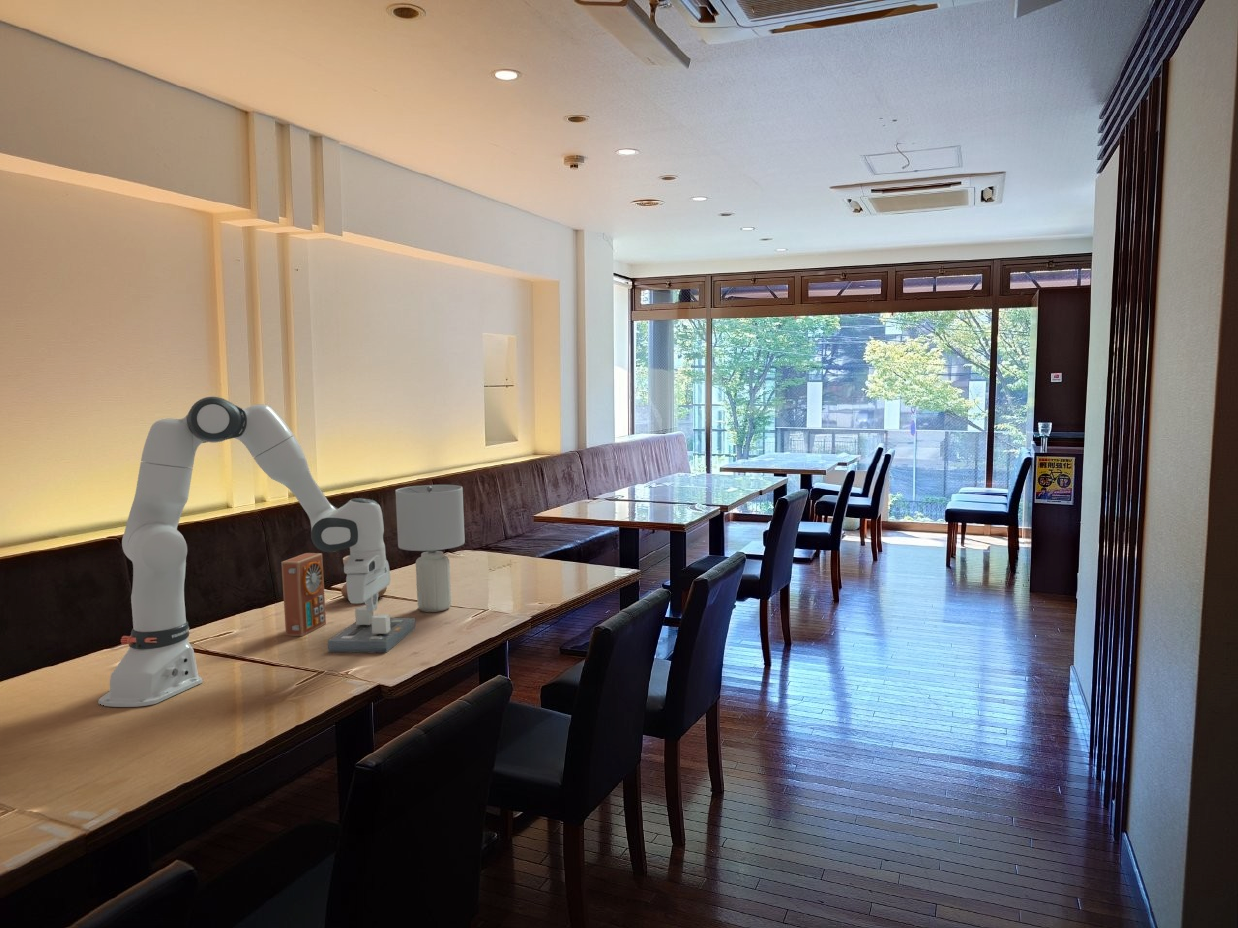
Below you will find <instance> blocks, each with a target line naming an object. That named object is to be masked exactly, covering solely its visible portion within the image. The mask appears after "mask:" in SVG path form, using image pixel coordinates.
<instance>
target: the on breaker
mask: <svg viewBox="0 0 1238 928" xmlns="http://www.w3.org/2000/svg"><path fill="white" fill-rule="evenodd" d="M354 616H355V622H356V625H370V624H371V623H372V622H371V617H373V616H374V611H373V612H367V609H366V606H357V608H355V609H354Z"/></svg>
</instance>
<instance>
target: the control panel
mask: <svg viewBox="0 0 1238 928" xmlns="http://www.w3.org/2000/svg"><path fill="white" fill-rule="evenodd" d="M280 564H281V576H282V577H281V578H282V579H281V580H282V591H283V593H282V594H283V595H282V596H283V608H284V611H283V612H284V624H285V625H284V626H285V636H288V637H289V636H290V637H291V636H292V637H304V636H306V635H307V634H309V633H311V632H314V631H315V630H317V629H319V628H321V627H323V626H324V625H326V624H327V618H326V617H327V616H326V599H325V597H326V596H325V582H324V566H323V565H324V564H323V553H319V552H317V553H315V552H306V553H305V552H304V553H302V554H299V555H297V556H294V557H292V558H289V559H286V560H283V561H281V563H280Z"/></svg>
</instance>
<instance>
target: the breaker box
mask: <svg viewBox="0 0 1238 928" xmlns="http://www.w3.org/2000/svg"><path fill="white" fill-rule="evenodd" d="M414 628H415V629H416V619H415V618H414V617H390V631H389V632H388V633H386V634H379V633H372V623H371V624H370V625H356V621H355V622H353V623H352V624H351V625H349V626H348V627H345V628H344V629H343V630H342V631H340V632H338V633H337V634H336V635H335V636H333V637H331V638H330V639H328V641H327V647H328V648H327V649H328V650H327V651H328V653H371V654H372V653H374V654H375V653H376V652H377V653H376V654H378V653H381V654H382V652H386V653H388V652H389V651H391V650H392V649H393V648H394V647H395V646H396V645H397V644H399V643H400V642H401V641H402V640H403V639H405V638H406V637H407V636H408V635H409V634H410V633H411V632H412V631H413V629H414ZM415 629H414V630H415ZM406 635H407V636H406ZM405 636H406V637H405ZM386 653H385V654H386Z"/></svg>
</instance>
